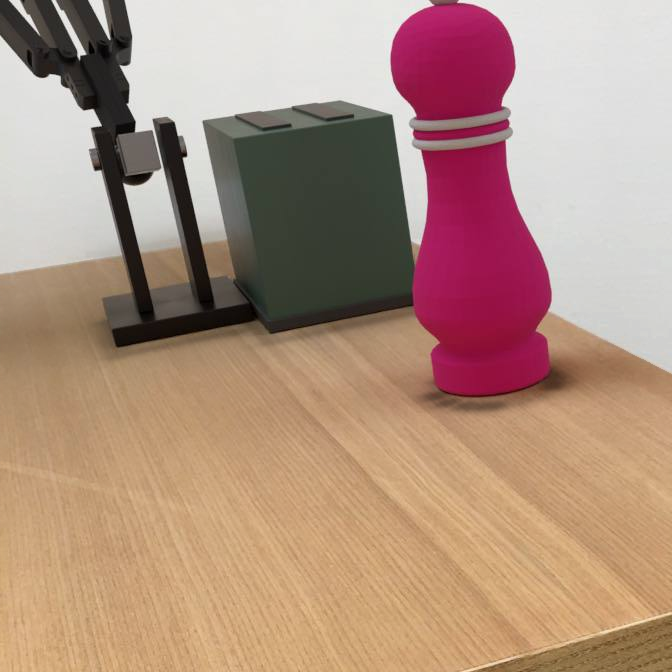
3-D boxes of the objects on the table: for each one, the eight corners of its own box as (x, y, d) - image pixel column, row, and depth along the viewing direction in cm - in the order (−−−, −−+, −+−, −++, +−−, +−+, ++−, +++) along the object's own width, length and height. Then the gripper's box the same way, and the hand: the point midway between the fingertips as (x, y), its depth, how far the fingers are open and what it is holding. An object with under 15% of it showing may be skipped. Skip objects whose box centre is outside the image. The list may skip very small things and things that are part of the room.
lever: (114, 190, 91) (103, 145, 90) (158, 183, 92) (147, 138, 91) (120, 181, 79) (107, 129, 78) (171, 173, 80) (158, 122, 79)
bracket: (105, 314, 88) (57, 128, 82) (231, 290, 90) (192, 109, 85) (116, 347, 79) (62, 142, 74) (254, 320, 82) (212, 120, 76)
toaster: (234, 289, 91) (197, 117, 85) (370, 264, 94) (342, 96, 88) (269, 333, 78) (229, 135, 73) (424, 302, 81) (396, 110, 76)
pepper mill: (398, 391, 65) (331, -21, 56) (479, 350, 70) (430, -33, 62) (507, 406, 61) (453, -34, 52) (585, 362, 66) (548, -46, 58)
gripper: (-93, -140, 88) (33, 115, 83) (86, -152, 94) (214, 85, 89) (-83, -55, 94) (35, 187, 89) (85, -71, 101) (204, 154, 95)
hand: (124, 135), depth 89 cm, fingers closed
